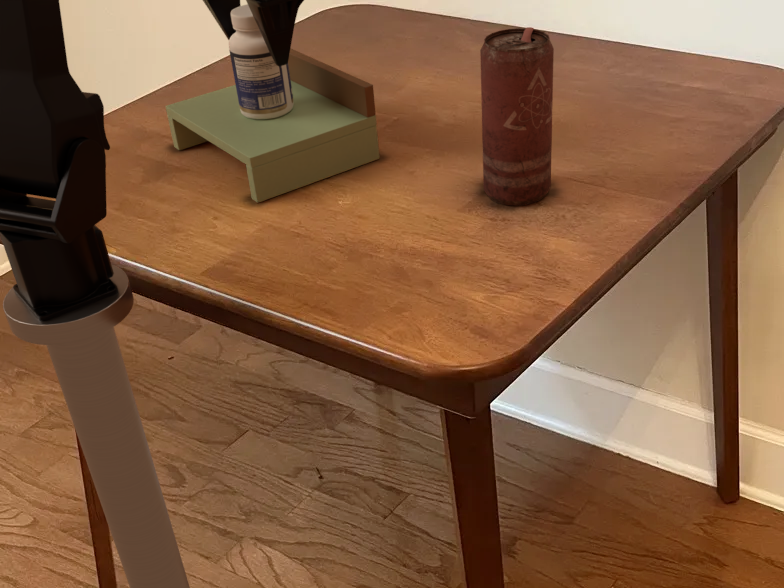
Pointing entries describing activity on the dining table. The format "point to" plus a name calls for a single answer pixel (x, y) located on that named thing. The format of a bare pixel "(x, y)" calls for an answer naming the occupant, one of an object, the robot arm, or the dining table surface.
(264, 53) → the pill bottle
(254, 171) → the shelf
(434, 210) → the dining table surface
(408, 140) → the dining table surface
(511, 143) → the can
